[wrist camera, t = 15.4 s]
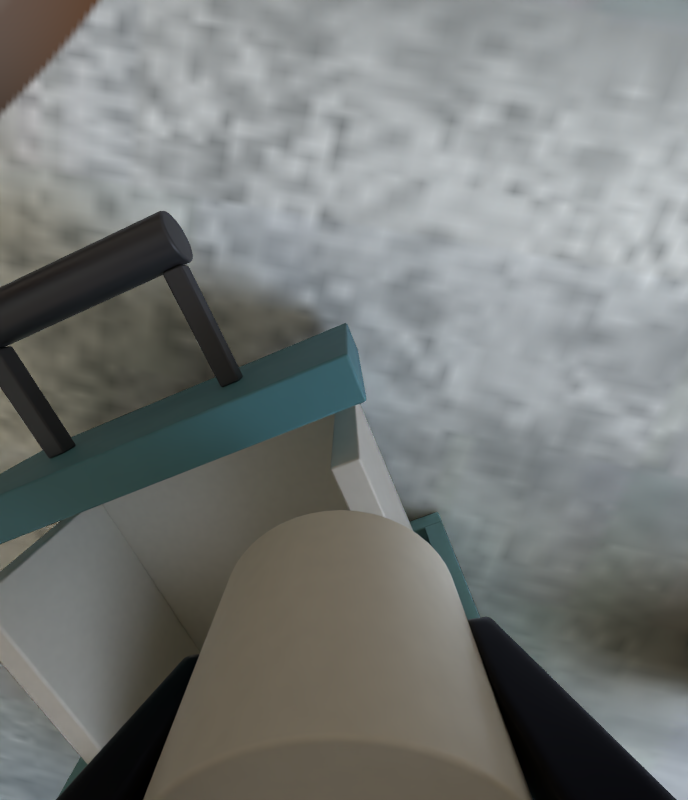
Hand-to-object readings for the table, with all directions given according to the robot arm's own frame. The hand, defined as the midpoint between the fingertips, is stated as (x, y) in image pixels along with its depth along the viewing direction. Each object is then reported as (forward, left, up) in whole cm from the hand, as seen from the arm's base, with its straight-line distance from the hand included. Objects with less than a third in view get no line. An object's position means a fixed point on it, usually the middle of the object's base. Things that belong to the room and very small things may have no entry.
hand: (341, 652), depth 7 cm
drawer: (+4, -2, -10) cm, 11 cm away
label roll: (0, 0, -1) cm, 1 cm away
